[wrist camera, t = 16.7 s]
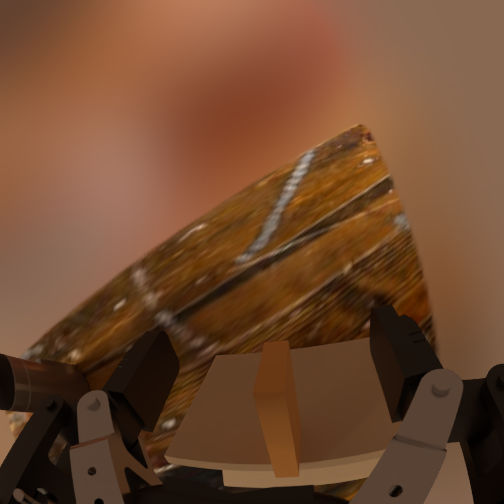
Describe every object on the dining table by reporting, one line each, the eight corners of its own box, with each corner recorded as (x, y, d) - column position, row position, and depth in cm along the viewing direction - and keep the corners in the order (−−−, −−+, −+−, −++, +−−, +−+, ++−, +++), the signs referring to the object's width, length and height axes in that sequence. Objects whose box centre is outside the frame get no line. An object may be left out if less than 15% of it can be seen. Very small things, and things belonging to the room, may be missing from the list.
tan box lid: (218, 362, 25) (199, 293, 24) (373, 343, 23) (371, 268, 21) (163, 473, 12) (109, 385, 10) (423, 458, 9) (455, 354, 8)
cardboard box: (243, 364, 36) (214, 362, 26) (359, 350, 33) (378, 342, 23) (250, 455, 30) (224, 485, 20) (366, 444, 27) (385, 472, 17)
